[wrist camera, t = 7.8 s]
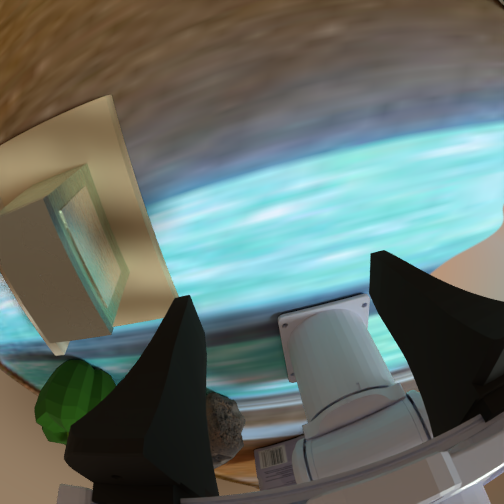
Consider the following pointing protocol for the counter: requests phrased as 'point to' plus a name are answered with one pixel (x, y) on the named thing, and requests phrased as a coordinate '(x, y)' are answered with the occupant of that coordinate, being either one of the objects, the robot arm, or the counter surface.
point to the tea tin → (63, 257)
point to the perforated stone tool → (223, 428)
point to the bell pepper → (70, 397)
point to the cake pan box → (276, 465)
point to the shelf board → (110, 193)
